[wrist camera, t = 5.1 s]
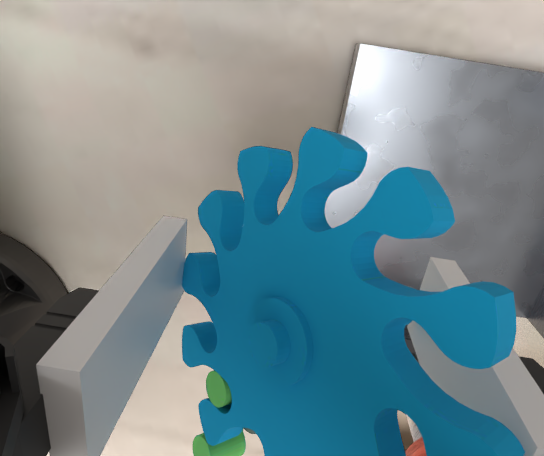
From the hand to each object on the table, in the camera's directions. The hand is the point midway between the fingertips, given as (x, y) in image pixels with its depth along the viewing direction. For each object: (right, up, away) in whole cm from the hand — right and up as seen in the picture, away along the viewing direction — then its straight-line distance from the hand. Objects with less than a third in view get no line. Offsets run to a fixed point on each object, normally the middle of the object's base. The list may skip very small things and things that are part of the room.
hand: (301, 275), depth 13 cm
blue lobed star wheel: (0, 0, +1) cm, 1 cm away
